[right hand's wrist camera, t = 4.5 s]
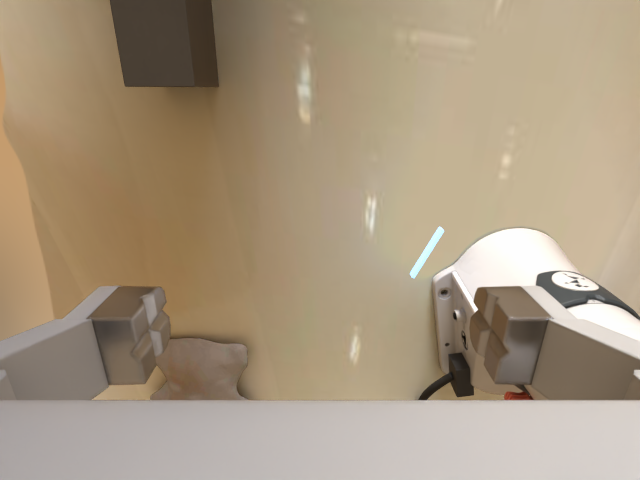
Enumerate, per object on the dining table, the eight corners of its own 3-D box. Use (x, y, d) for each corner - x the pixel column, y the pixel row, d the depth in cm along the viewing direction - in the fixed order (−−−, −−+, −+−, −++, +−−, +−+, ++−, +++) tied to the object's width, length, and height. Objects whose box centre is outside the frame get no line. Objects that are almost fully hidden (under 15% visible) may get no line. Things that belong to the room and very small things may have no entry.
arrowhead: (245, 359, 46) (250, 526, 56) (253, 335, 51) (257, 493, 61) (129, 353, 46) (156, 521, 57) (148, 330, 51) (169, 488, 61)
